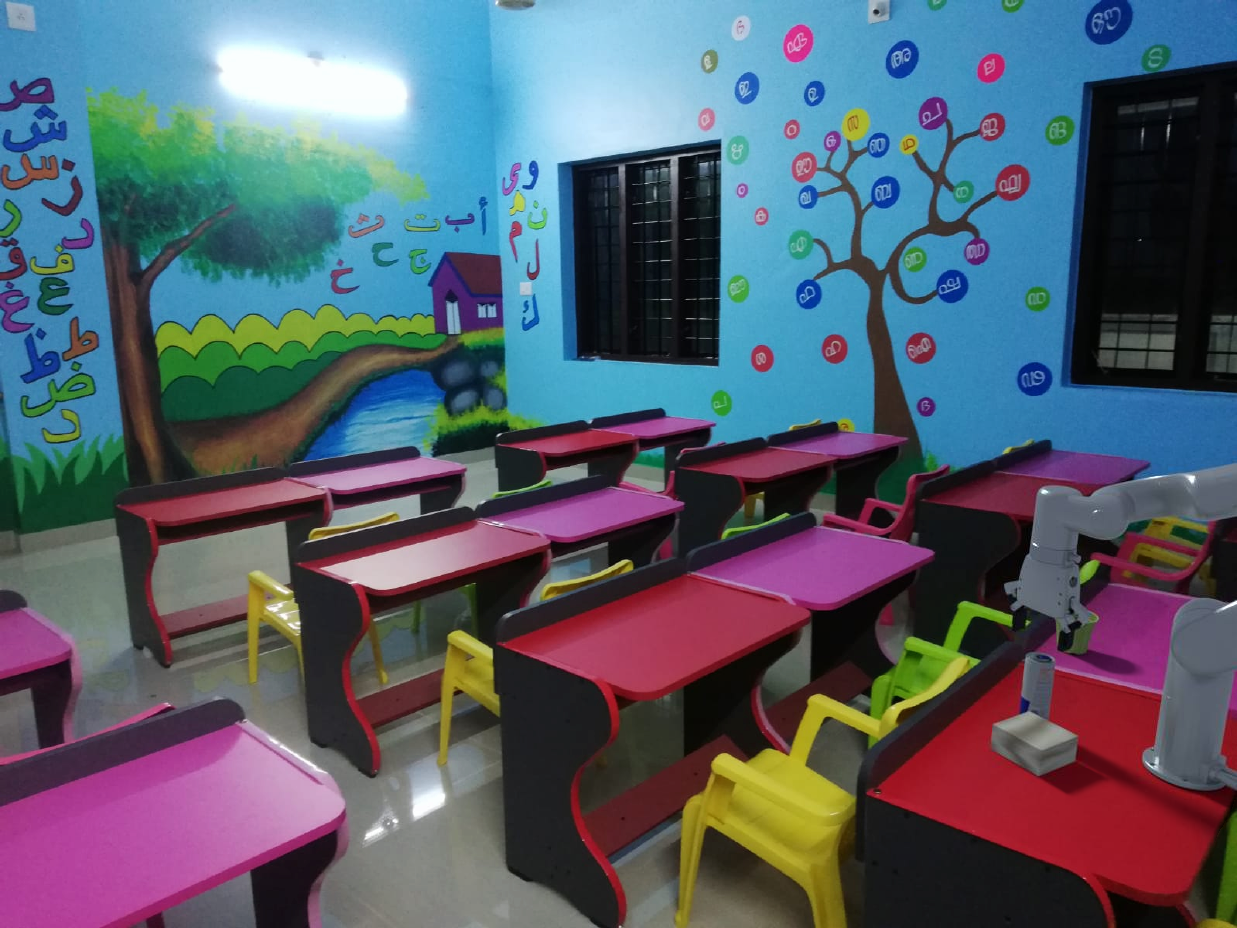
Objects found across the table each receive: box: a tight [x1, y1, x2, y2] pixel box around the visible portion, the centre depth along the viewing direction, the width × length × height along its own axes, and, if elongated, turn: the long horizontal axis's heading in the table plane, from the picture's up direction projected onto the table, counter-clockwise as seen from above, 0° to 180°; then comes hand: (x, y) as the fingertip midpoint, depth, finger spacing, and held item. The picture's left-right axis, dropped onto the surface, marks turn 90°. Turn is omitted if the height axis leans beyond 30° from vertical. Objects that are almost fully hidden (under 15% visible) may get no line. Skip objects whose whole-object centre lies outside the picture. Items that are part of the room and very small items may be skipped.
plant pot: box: [1054, 610, 1100, 656], centre depth 201 cm, size 9×9×9 cm
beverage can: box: [1018, 651, 1056, 721], centre depth 166 cm, size 5×5×15 cm
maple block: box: [990, 711, 1079, 777], centre depth 158 cm, size 10×10×5 cm
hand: (1040, 639), depth 163 cm, fingers open, 9 cm apart
